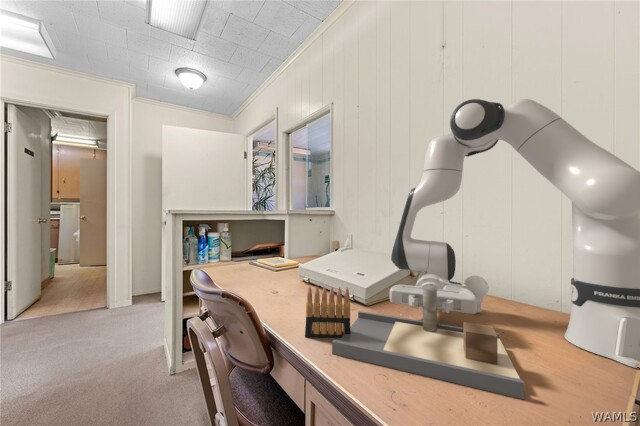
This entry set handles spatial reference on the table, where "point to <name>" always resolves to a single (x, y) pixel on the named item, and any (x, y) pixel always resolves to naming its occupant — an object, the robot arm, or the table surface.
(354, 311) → the table surface
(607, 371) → the table surface
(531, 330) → the table surface
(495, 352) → the walnut block
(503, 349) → the sliding platform with post
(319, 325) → the ammunition clip
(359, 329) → the rail base
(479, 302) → the lightbulb
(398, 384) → the table surface
